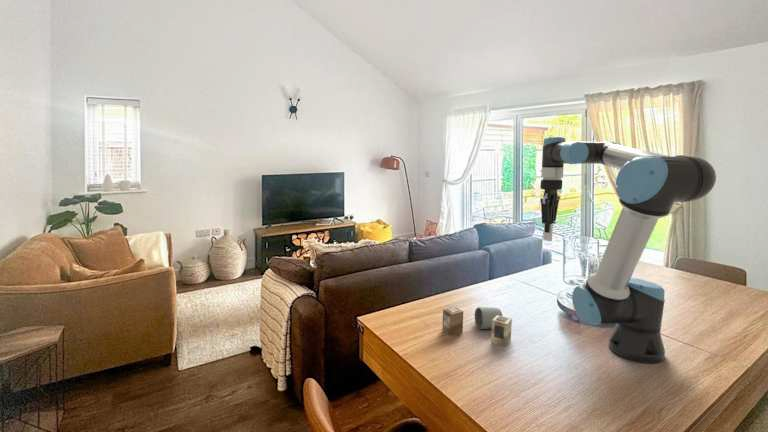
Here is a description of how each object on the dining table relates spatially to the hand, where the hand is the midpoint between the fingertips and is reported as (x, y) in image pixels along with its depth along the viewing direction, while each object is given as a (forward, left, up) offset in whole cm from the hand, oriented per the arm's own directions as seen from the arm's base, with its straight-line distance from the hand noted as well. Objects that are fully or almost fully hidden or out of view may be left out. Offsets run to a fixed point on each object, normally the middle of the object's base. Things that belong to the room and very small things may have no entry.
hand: (547, 240), depth 152 cm
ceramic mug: (+10, +26, -30) cm, 41 cm away
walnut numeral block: (+16, +39, -29) cm, 51 cm away
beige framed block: (0, +34, -29) cm, 45 cm away
